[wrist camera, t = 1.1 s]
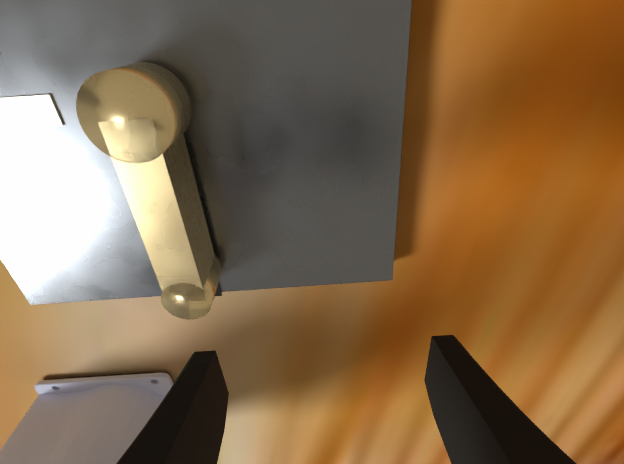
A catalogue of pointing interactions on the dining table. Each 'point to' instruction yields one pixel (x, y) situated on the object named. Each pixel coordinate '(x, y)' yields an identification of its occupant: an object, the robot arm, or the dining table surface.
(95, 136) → the lever
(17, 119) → the lock plate
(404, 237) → the dining table surface
